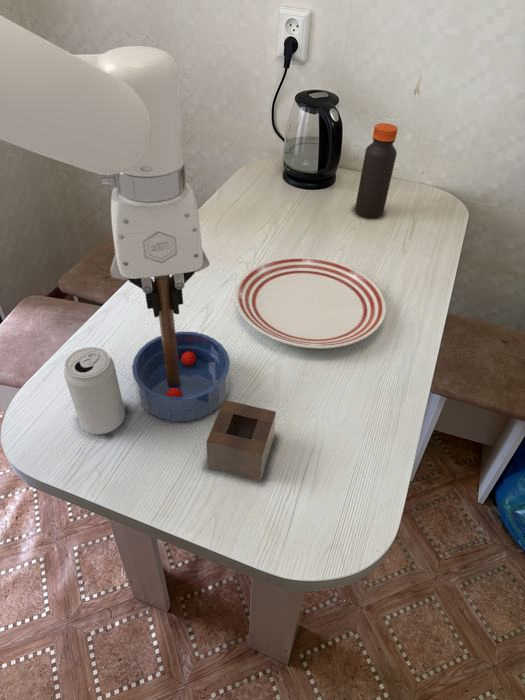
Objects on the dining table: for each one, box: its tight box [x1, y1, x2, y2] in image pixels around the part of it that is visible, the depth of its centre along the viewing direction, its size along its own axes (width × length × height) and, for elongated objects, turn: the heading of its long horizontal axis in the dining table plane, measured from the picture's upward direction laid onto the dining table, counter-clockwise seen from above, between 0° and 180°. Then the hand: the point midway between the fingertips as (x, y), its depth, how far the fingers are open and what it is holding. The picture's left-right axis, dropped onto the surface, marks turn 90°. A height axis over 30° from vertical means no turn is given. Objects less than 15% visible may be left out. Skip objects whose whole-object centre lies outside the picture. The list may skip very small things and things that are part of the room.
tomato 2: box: [181, 352, 196, 367], centre depth 80 cm, size 2×2×2 cm
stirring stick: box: [153, 275, 180, 386], centre depth 71 cm, size 2×2×20 cm
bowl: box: [131, 331, 231, 422], centre depth 77 cm, size 14×14×6 cm
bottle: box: [354, 122, 399, 219], centre depth 115 cm, size 7×7×20 cm
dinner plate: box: [234, 256, 387, 350], centre depth 93 cm, size 27×27×3 cm
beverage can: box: [63, 346, 126, 435], centre depth 69 cm, size 6×6×12 cm
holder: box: [206, 399, 277, 482], centre depth 68 cm, size 7×7×6 cm
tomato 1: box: [166, 388, 183, 397], centre depth 75 cm, size 2×2×2 cm
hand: (165, 308), depth 68 cm, fingers closed on stirring stick, 2 cm apart
